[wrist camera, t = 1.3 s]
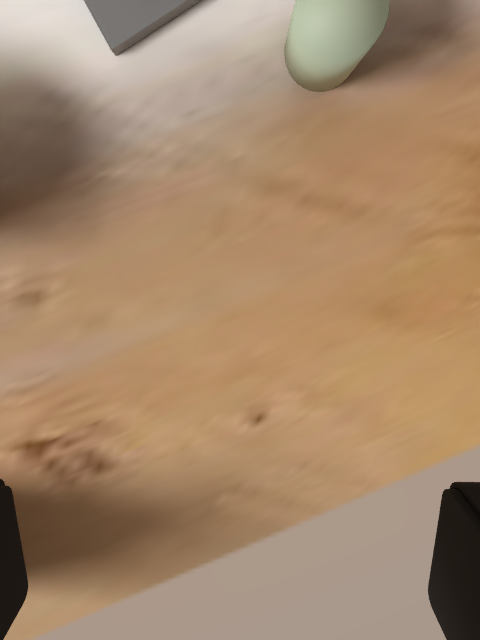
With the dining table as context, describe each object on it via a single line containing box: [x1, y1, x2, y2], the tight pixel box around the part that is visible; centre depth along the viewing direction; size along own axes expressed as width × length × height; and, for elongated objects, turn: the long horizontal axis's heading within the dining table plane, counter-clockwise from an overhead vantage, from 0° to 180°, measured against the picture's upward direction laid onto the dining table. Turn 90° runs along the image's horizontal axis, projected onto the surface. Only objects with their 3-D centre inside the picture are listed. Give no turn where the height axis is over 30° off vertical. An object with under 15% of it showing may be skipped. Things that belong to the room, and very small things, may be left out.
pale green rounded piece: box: [285, 0, 390, 92], centre depth 23 cm, size 5×5×6 cm
